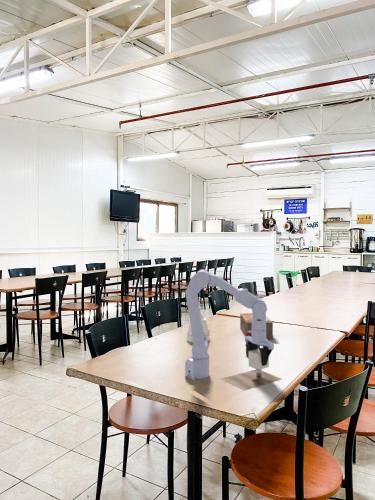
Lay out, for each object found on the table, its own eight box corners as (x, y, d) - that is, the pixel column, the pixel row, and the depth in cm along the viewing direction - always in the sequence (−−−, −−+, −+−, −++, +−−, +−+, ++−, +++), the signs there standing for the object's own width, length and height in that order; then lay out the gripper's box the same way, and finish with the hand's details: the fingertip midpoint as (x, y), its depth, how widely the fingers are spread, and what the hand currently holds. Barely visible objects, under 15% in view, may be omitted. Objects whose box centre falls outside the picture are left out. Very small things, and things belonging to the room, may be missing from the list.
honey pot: (189, 336, 225) (189, 305, 224) (211, 337, 222) (211, 306, 222) (184, 342, 212) (184, 309, 212) (207, 343, 210) (207, 310, 209)
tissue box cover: (272, 340, 216) (272, 322, 216) (246, 340, 216) (246, 322, 216) (263, 329, 242) (263, 313, 242) (240, 329, 242) (240, 313, 242)
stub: (258, 378, 154) (258, 368, 154) (254, 377, 156) (254, 366, 156) (262, 377, 155) (262, 367, 155) (258, 375, 157) (258, 365, 157)
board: (244, 394, 142) (244, 390, 142) (220, 382, 154) (220, 378, 154) (282, 382, 153) (282, 379, 153) (257, 372, 165) (257, 368, 165)
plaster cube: (258, 369, 152) (258, 354, 151) (248, 366, 156) (248, 351, 156) (268, 367, 155) (268, 352, 154) (258, 363, 159) (258, 348, 159)
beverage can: (244, 357, 186) (244, 332, 185) (247, 353, 192) (247, 329, 192) (258, 358, 183) (258, 333, 183) (261, 354, 190) (261, 330, 189)
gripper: (279, 331, 151) (279, 366, 152) (253, 324, 163) (253, 356, 164) (266, 334, 147) (266, 369, 148) (240, 326, 159) (241, 359, 160)
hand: (258, 362), depth 155 cm, fingers closed on plaster cube, 6 cm apart
